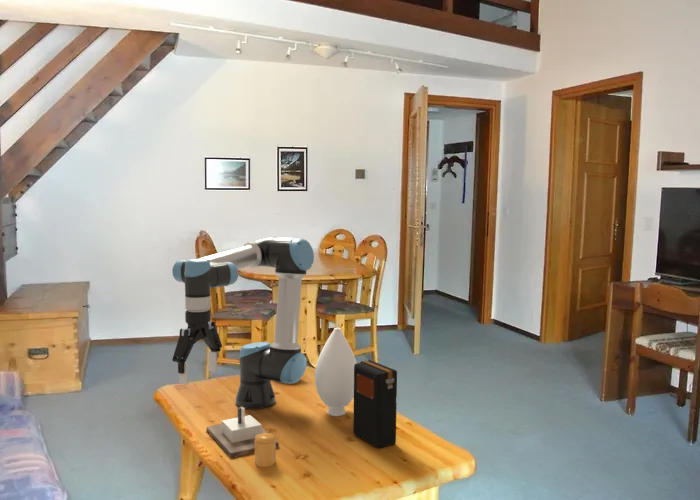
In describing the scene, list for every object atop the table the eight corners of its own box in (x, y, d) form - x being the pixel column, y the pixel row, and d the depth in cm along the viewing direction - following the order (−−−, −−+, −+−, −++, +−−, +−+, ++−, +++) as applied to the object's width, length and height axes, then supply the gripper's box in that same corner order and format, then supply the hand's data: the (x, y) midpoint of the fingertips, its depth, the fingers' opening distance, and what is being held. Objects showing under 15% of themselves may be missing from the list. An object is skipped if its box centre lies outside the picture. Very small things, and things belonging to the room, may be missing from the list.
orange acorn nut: (270, 456, 183) (270, 431, 182) (277, 463, 178) (277, 438, 178) (252, 460, 180) (252, 435, 180) (259, 468, 175) (259, 442, 175)
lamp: (309, 408, 225) (309, 317, 221) (347, 403, 231) (348, 314, 228) (324, 423, 210) (324, 326, 207) (364, 417, 216) (366, 322, 213)
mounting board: (250, 422, 211) (250, 418, 211) (278, 447, 190) (278, 442, 190) (206, 430, 202) (206, 426, 202) (230, 457, 182) (230, 453, 182)
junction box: (250, 426, 203) (250, 400, 202) (261, 436, 194) (261, 410, 194) (221, 432, 198) (221, 405, 197) (232, 442, 189) (231, 415, 189)
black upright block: (399, 444, 193) (400, 369, 191) (378, 450, 188) (379, 373, 186) (370, 428, 206) (371, 358, 204) (349, 434, 201) (350, 362, 199)
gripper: (214, 302, 195) (214, 365, 196) (159, 315, 172) (160, 386, 174) (232, 304, 191) (233, 368, 193) (179, 318, 169) (180, 390, 171)
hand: (198, 377), depth 184 cm, fingers open, 13 cm apart
